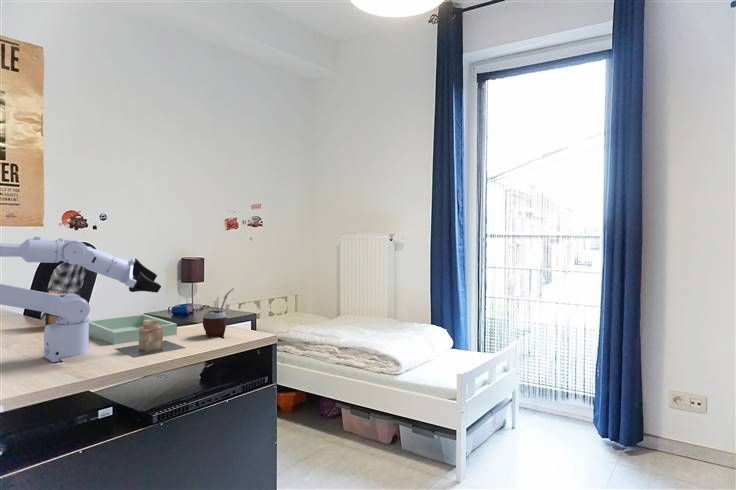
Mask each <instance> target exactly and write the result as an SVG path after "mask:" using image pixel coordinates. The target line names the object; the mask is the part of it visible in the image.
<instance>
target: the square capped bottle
mask: <svg viewBox="0 0 736 490" xmlns="http://www.w3.org/2000/svg"><path fill="white" fill-rule="evenodd" d="M158 321H159V320H156V319H149V320H143V327H139V341H138V345H139V348H140V349H142V350H144V351H150V350H156V349H162V348H163V341H164V340H163V328H162V327H159V326H158Z"/></svg>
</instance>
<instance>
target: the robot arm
mask: <svg viewBox="0 0 736 490" xmlns="http://www.w3.org/2000/svg"><path fill="white" fill-rule="evenodd" d="M0 257H2V258H4V257H5V258H6V257H7V258H9V257H10V258H11V257H12V258H13V257H18V258H19V257H20V258H21V259H23V261H25V262H27V263H44V264H45V263H49V264H52V263H56V264H57V263H60V262H63V263H66V264H69V265H78V266H81V267H82V268H85V269H86V270H87V271H91V272H94V273H96V274H99V275H102V276H105V277H108V278H111V279H113V280H116V281H118V282H119V283H122V284H124V285H125V286H126V287H128V291H129V292H132V293H135V292H148V293H158V292H159V291H160V290H161V288H162V285H160V283H158V282H157V281H155V280H156V278H157V277H158V274H156V273H155V272H153V271H152V270H151V269H149V268H148V267H146V266H145V265H143V264H142V263H141V261H140V260H138V259H137V258H133V257H132V258H131V259H130V260H128V259H126V258H124V259H123V258H120V257H118V256H115V255H113V254H111V253H108V252H106V251H103V250H100V249H99V248H93V247H92V246H88V245H86V244H85V243H84V242H82V241H78V240H72V239H71V240H70V239H66V240H64V238H61V237H59V238H58V239H45V238H43V239H42V238H41V236H33V238H27V239H26V240H24V241H23V242H22V243H10V242H9V243H8V242H0ZM0 305H3V306H8V307H11V308H12V307H15V308H18V309H24V310H25V309H26V310H31V311H36V312H42V313H45V314H46V313H48V314H51V315H55V316H59V317H58V318H57V319H56V323H54V324H49V325H46V326H45V327H44V330H43V354H42V355H43V356H42V357H43V358H44V359H47V360H48V361H49V362H51V363H58V362H63V358H69V357H77V356H83V355H85V354H88V353H89V352H90V351H89V349H90V340H89V337H90V336H89V321H90V320H89V319H90V318H89V317H88V316H89V313H90V311H91V307H90V304H89V302H88V300H87V299H85V298H83V297H81V296H80V295H79V294H76V293H74V292H69V293H65V294H63V295H60V294H54V293H48V292H46V291H45V292H44V291H38V290H33V289H29V288H24V287H18V286H14V285H9V284H4V283H0Z"/></svg>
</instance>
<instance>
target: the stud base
mask: <svg viewBox="0 0 736 490" xmlns="http://www.w3.org/2000/svg"><path fill="white" fill-rule="evenodd" d="M182 349H183V350H184V349H187V347H185V346H182V345H180V344H178V343H174V342H172V341H169V340H163V348H162V349H156V350H150V351H144V350H142V349H140V348H139V344H135V345H129V346H123V347H117V348H114V350H116V351H117V352H121V353H122V354H123V355H127V356H129V357H131V358H139V357H145V356H150V355H157V354H161V353H167V352H172V351H176V350H182Z"/></svg>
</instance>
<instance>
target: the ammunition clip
mask: <svg viewBox="0 0 736 490" xmlns="http://www.w3.org/2000/svg"><path fill="white" fill-rule="evenodd" d="M47 293H54V294H60V295H63V294H66V292H63V291H57V290H55V291H54V290H52V291H51V289H49V290H48V292H47ZM58 317H59V316H55V315H51V314H48V313H45V326H46V325H49V324H54V323H56V319H57V318H58Z"/></svg>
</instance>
